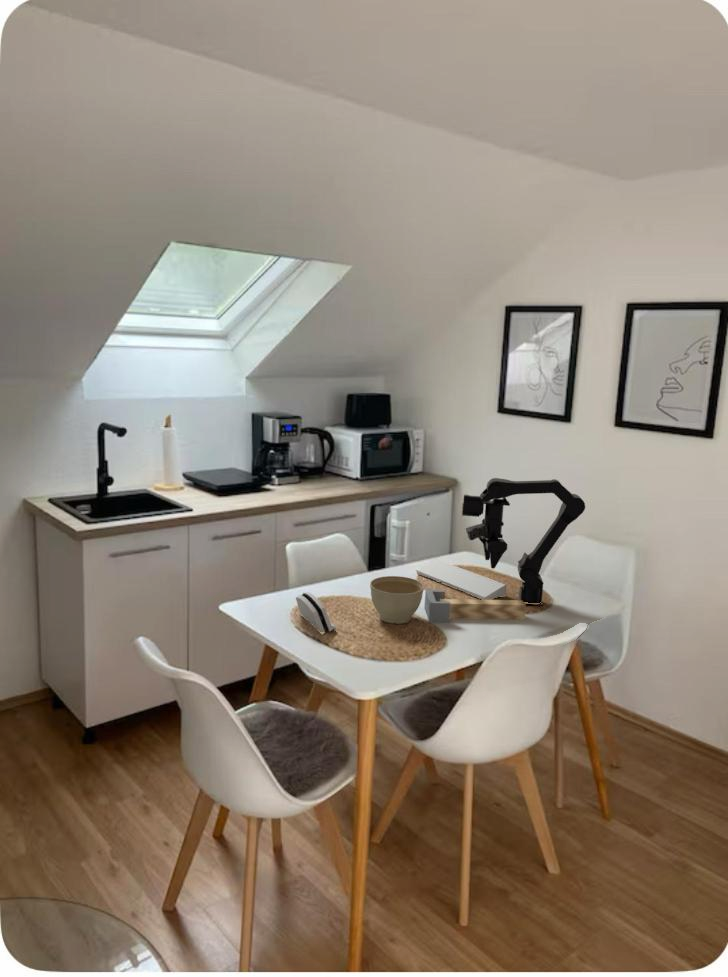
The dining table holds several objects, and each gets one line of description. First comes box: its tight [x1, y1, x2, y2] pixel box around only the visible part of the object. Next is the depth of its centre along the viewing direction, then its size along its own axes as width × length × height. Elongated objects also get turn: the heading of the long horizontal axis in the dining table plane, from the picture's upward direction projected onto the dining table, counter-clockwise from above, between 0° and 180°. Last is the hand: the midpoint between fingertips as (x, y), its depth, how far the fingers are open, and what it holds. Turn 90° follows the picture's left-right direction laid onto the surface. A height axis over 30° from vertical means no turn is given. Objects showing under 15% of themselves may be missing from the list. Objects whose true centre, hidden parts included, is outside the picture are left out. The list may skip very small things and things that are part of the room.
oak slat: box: [439, 598, 527, 620], centre depth 231 cm, size 26×4×5 cm, turn 94°
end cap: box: [424, 589, 450, 623], centre depth 231 cm, size 6×12×6 cm, turn 2°
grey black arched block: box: [295, 591, 338, 633], centre depth 219 cm, size 17×5×10 cm, turn 26°
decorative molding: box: [415, 558, 508, 600], centre depth 261 cm, size 34×5×10 cm
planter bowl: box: [369, 575, 425, 625], centre depth 226 cm, size 16×16×11 cm
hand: (489, 564), depth 245 cm, fingers open, 9 cm apart
